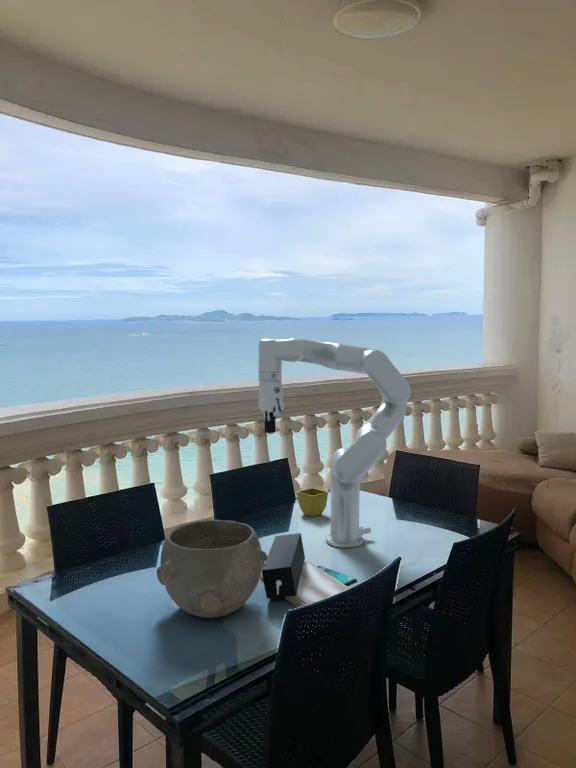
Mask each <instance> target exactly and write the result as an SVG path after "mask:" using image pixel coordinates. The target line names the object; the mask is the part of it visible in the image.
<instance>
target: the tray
mask: <svg viewBox="0 0 576 768" xmlns="http://www.w3.org/2000/svg"><path fill="white" fill-rule="evenodd" d="M260 579H261V580H263V576H262V570H261V574H260ZM348 588H350V587H349V586H346V585H344V584H342V583H341V582H339V581H338V580H336V579H335V578H333V577H332V576H330V575H329V574H327V573H326V572H324V571H323V570H321V569H320V568H318V567H317V566H316V565H315V564H314V563H312V562H311V561H309V560H304V564H303V568H302V572H301V576H300V580H299V584H298V589H297V594H296V596H287V597H283V598H284V599H285V600H287V601H288V602H289V603H291V604H292V605H293V606H295V608H297V607H300V606H304V605H306V604H310V603H313V602H316V601H319V600H322V599H325V598H327V597H329V596H332V595H334V594H337V593H339V592H342V591H344V590H346V589H348Z"/></svg>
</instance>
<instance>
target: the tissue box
mask: <svg viewBox="0 0 576 768" xmlns="http://www.w3.org/2000/svg"><path fill="white" fill-rule="evenodd" d="M303 544H304V543H303V538H302V533H301V532H298V533H297V532H296V533H290V534H283V535H276V536H275V537H274V539H273V541H272V544H271V547H270V549H269V551H268V555H267V560H266V561H265V562H264V563H265V567H263V568H262V576H263V586H264V591H265V592H264V593H265V596H266V599H267V600H269V599H276V598H277V599H278V598H284V597H287V596H296V594H297V589H298V584H299V580H300V576H301V572H302V568H303V564H304V561H306V560H305V559H306V556H305V549H304V545H303Z"/></svg>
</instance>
